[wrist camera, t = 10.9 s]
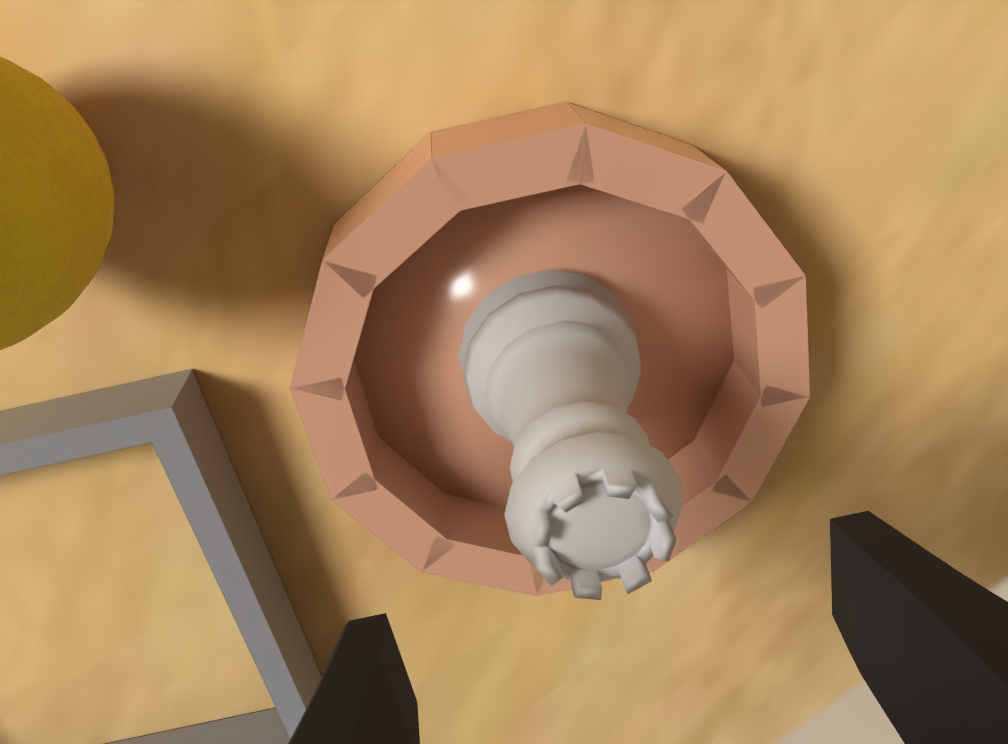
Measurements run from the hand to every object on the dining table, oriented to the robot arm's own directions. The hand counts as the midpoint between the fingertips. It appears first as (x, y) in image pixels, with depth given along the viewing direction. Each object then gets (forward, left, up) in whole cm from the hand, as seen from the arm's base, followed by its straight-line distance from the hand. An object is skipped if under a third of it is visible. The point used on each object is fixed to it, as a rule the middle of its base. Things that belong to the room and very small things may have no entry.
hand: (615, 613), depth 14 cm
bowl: (0, 0, -10) cm, 10 cm away
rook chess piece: (0, 0, -10) cm, 10 cm away
